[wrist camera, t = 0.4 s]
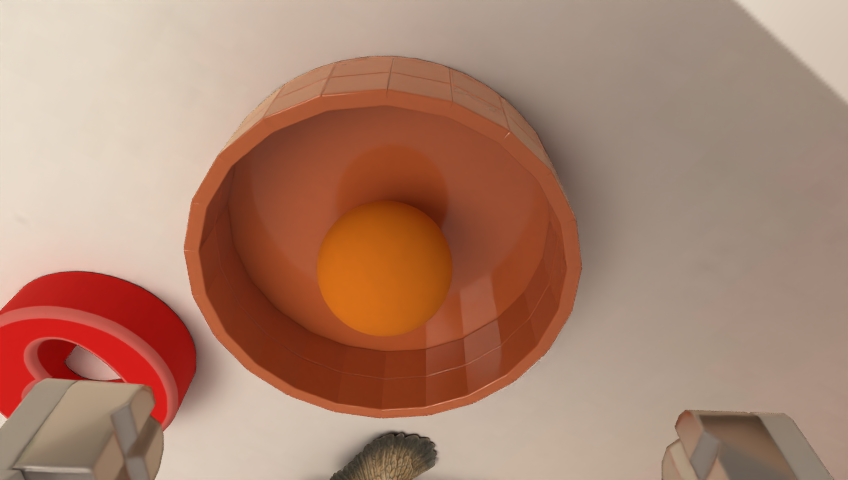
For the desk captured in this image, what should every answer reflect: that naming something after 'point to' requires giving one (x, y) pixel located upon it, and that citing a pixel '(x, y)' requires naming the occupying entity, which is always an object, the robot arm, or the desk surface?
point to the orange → (384, 268)
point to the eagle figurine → (390, 459)
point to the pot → (384, 181)
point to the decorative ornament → (94, 338)
